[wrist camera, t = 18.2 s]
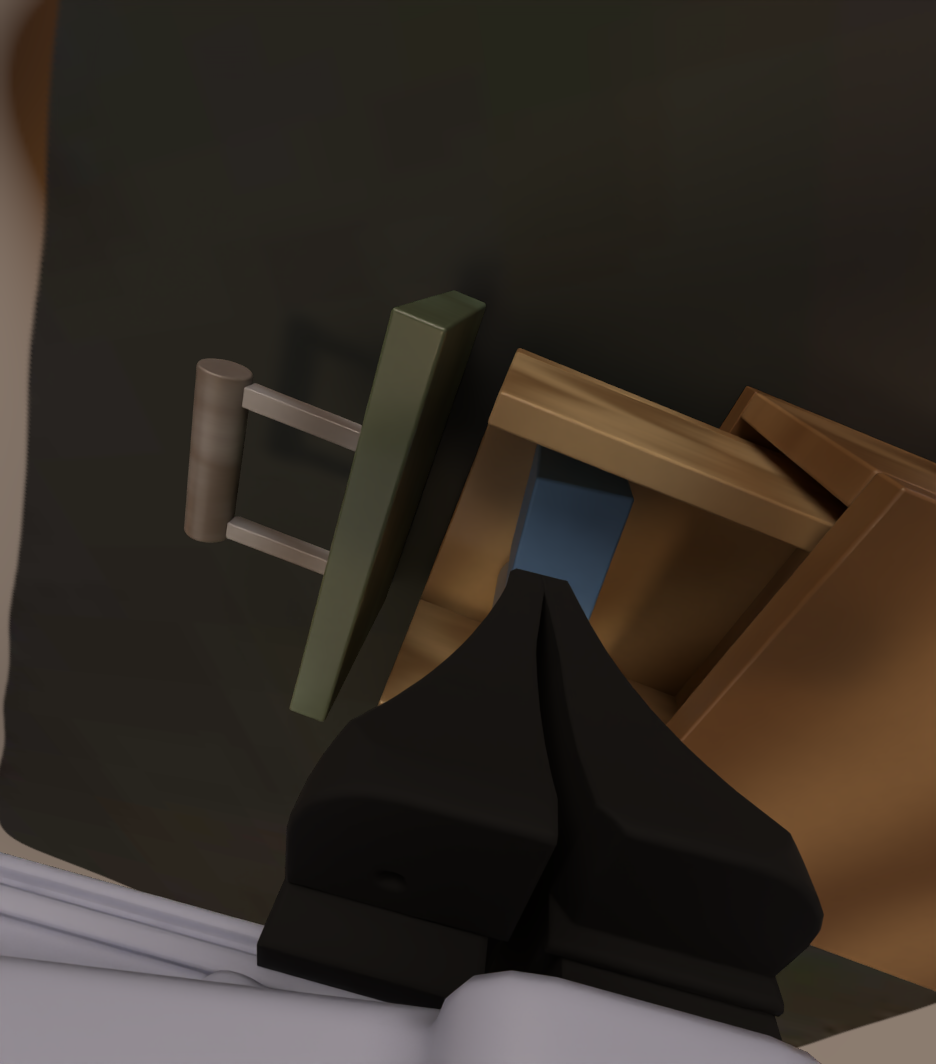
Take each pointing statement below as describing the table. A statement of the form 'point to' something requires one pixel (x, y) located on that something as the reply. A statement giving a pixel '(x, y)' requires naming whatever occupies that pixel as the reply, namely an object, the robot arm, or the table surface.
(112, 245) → the table surface
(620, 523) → the blue block on disc
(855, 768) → the cabinet
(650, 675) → the drawer
